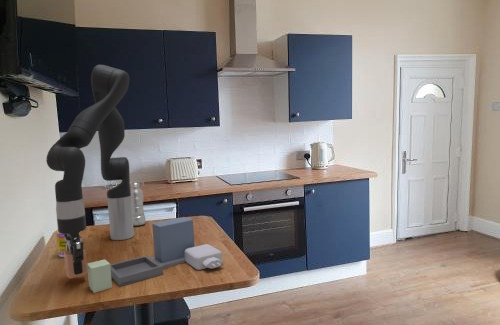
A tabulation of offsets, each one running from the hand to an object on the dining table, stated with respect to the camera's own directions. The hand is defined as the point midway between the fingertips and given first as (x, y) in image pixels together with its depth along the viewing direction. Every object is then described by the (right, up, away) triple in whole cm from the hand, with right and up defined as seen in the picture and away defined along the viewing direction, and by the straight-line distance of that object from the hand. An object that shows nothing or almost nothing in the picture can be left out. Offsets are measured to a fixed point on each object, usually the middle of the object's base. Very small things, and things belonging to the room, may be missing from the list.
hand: (76, 270), depth 112 cm
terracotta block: (0, -1, 0) cm, 1 cm away
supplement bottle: (-14, -2, +25) cm, 29 cm away
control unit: (+26, -1, +15) cm, 31 cm away
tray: (+16, -2, +4) cm, 17 cm away
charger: (+38, -1, +8) cm, 39 cm away
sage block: (+9, -3, -5) cm, 11 cm away
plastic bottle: (0, +3, +63) cm, 63 cm away
